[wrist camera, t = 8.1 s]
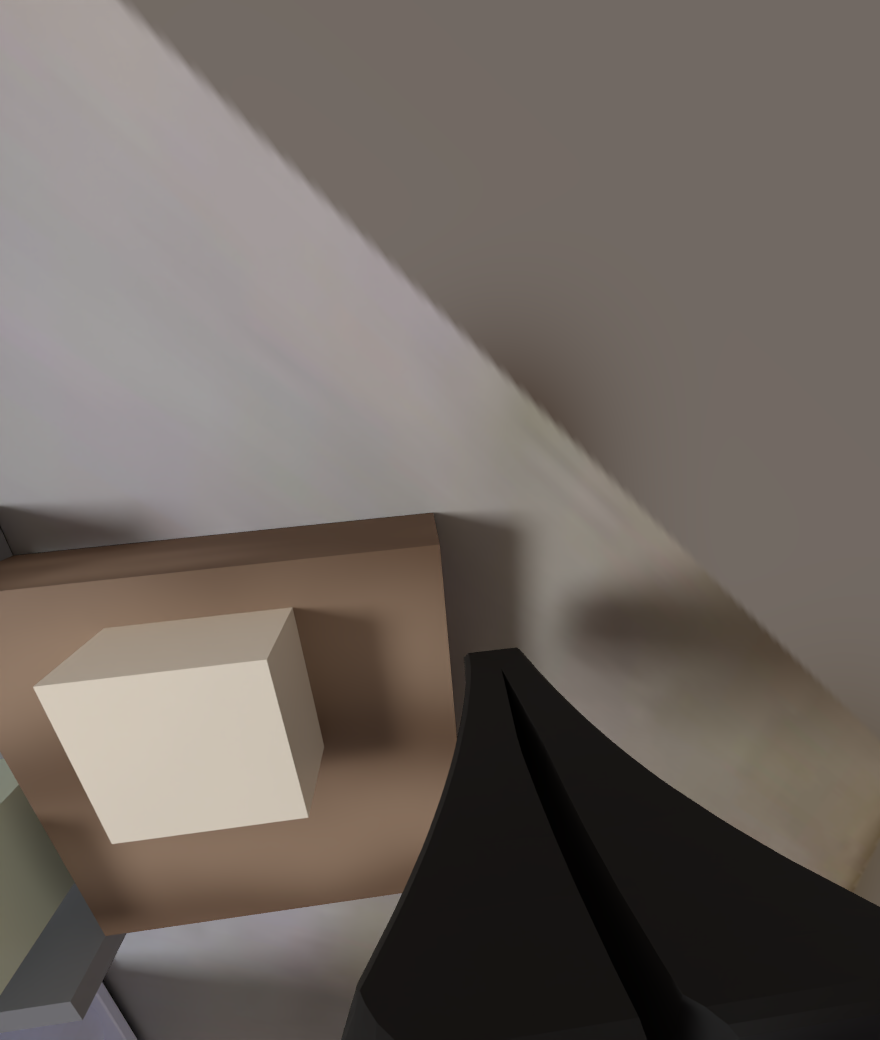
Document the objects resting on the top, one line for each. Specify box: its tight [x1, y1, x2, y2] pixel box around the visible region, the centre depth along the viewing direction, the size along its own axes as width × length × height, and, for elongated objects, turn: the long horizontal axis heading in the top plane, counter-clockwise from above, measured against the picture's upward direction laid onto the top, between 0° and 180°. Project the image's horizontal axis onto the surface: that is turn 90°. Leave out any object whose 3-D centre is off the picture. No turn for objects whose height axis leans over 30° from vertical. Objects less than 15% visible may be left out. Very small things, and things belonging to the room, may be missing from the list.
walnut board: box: [0, 513, 457, 936], centre depth 13 cm, size 12×12×2 cm
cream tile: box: [33, 607, 324, 844], centre depth 10 cm, size 4×4×2 cm
